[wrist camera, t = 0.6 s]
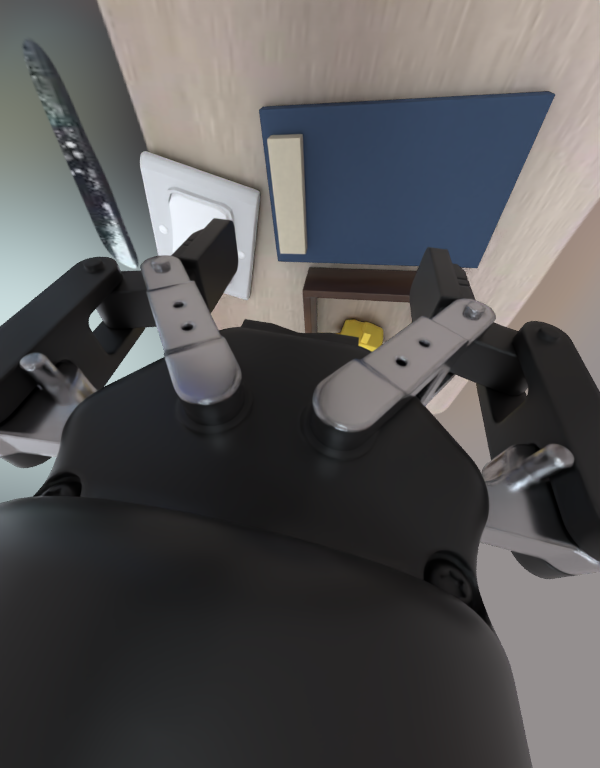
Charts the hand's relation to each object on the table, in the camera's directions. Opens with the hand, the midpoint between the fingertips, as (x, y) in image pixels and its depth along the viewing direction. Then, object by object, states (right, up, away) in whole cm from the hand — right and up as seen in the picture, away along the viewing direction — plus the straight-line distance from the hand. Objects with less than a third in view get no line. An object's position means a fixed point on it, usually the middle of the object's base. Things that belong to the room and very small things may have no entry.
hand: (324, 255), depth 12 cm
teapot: (+7, +2, +25) cm, 26 cm away
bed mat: (+6, +11, +13) cm, 19 cm away
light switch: (-11, +11, +19) cm, 25 cm away
